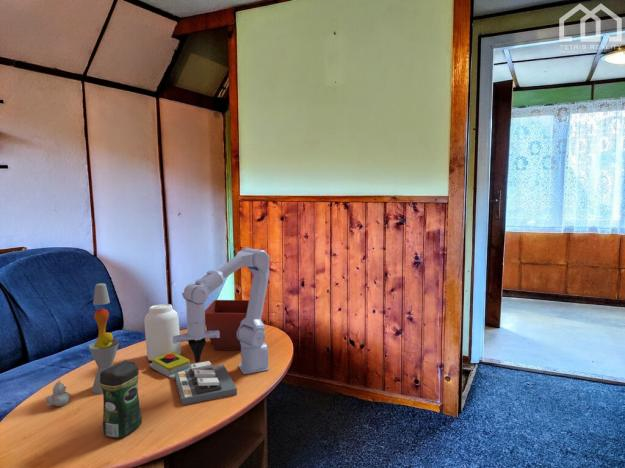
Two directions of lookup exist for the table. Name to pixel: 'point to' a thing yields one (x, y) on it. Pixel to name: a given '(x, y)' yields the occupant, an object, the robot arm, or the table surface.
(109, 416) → the coffee jar
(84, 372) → the table surface
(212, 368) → the panel
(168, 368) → the emergency button
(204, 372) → the rocker
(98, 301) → the lava lamp
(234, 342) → the plant pot
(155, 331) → the white jar
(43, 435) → the table surface
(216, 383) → the rocker
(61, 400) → the rubber duck
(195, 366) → the rocker
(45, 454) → the table surface
